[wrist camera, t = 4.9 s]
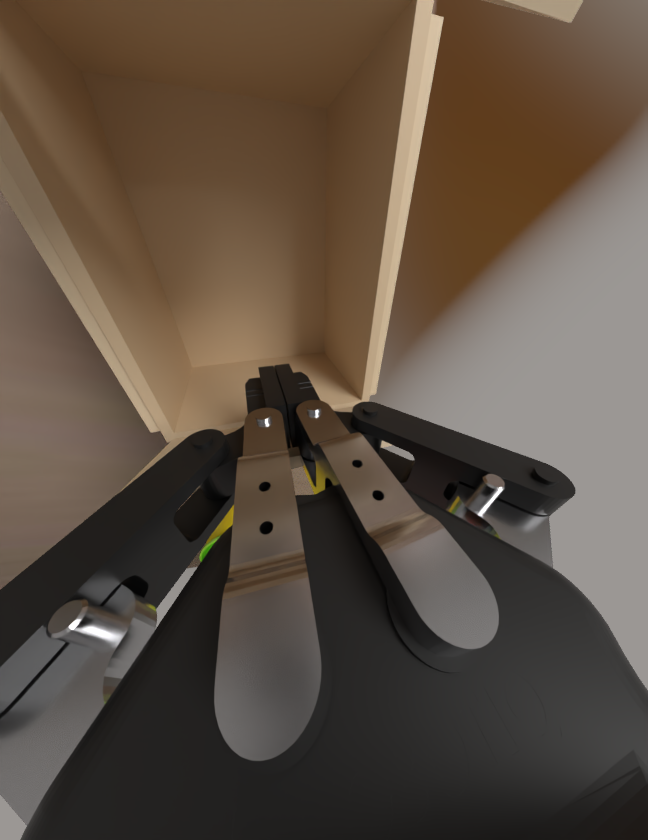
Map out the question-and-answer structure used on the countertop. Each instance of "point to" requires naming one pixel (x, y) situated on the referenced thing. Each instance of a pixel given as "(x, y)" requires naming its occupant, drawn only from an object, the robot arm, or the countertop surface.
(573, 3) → the flap
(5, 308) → the countertop surface
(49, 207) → the carton
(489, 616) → the robot arm
